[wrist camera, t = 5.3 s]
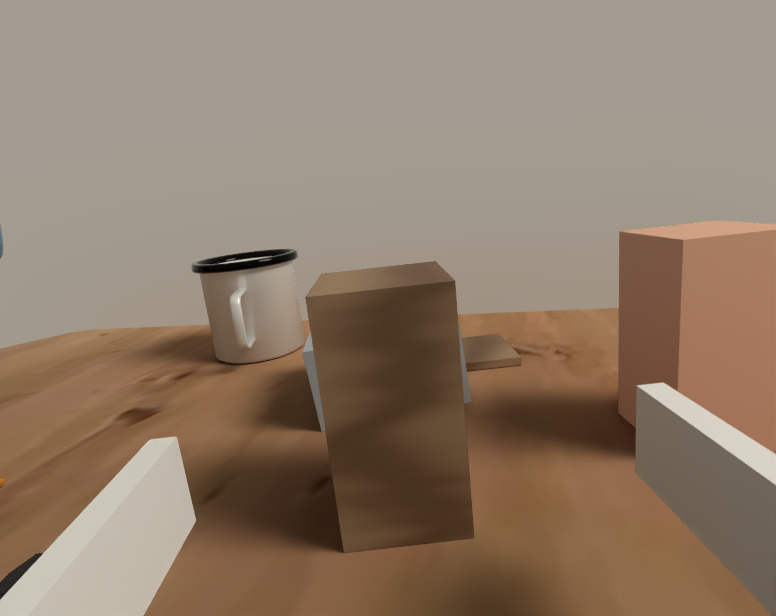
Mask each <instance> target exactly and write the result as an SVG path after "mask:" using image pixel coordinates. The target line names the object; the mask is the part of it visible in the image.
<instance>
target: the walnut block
mask: <svg viewBox="0 0 776 616" xmlns="http://www.w3.org/2000/svg"><path fill="white" fill-rule="evenodd" d="M306 304H307V311H308V318H309V324H310V331H311V338H312V344H313V351H314V358H315V364H316V371H317V378H318V384H319V391H320V398H321V404H322V411H323V418H324V424H325V431H326V438H327V444H328V451H329V458H330V464H331V471H332V478H333V484H334V491H335V498H336V504H337V511H338V518H339V524H340V531H341V537H342V544H343V551H344V553H348V552H357V551H365V550H374V549H383V548H392V547H400V546H409V545H418V544H427V543H435V542H444V541H453V540H462V539H470V538H474V528H473V515H472V501H471V488H470V474H469V461H468V448H467V434H466V421H465V408H464V394H463V381H462V367H461V354H460V341H459V327H458V314H457V302H456V287H455V280H454V279H453V278H452V277H451V276H450V275H449V274H448V273H447V272H446V271H445V270H444V269H443V268H442V267H441V266H440V265H439V264H438V263H437V262H436V261H433V262H425V263H415V264H406V265H398V266H389V267H380V268H370V269H361V270H353V271H343V272H334V273H325V274H321V275H320V277H319V278H318V280H317V281H316V283H315V284H314V286H313V287H312V288H311V290H310V291H309V293H308V294H307V296H306Z"/></svg>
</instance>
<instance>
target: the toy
mask: <svg viewBox="0 0 776 616" xmlns="http://www.w3.org/2000/svg"><path fill="white" fill-rule="evenodd" d="M5 481H6V480H5V479H4V478H2V477H0V488H1V487H3V486H4V485H5Z"/></svg>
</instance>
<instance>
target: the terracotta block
mask: <svg viewBox="0 0 776 616" xmlns="http://www.w3.org/2000/svg"><path fill="white" fill-rule="evenodd" d="M619 234H620V235H619V236H620V238H619V377H618V413H619V414H620V415H621V416H622V417H624V418H625V419H626V420H627V421H628V422H629V423H630V424H632V425H633V426H634V427H635V428H636V393H637V385H645V384H654V383H665V384H667V385H668V386H670V387H671V388H673V389H674V390H676V391H677V392H679V393H681V394H682V395H684V396H685V397H687V398H688V399H690V400H692V401H693V402H695V403H696V404H698V405H699V406H701V407H703V408H704V409H706V410H707V411H709V412H710V413H712V414H714V415H715V416H717V417H718V418H720V419H721V420H723V421H724V422H726V423H728V424H729V425H731V426H732V427H734V428H735V429H737V430H739V431H740V432H742V433H743V434H745V435H746V436H748V437H750V438H751V439H753V440H754V441H756V442H757V443H759V444H760V445H762V446H764V447H765V448H767V449H768V450H770V451H776V224H764V223H749V222H732V221H709V222H699V223H690V224H682V225H673V226H664V227H655V228H645V229H636V230H627V231H620V233H619Z"/></svg>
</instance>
